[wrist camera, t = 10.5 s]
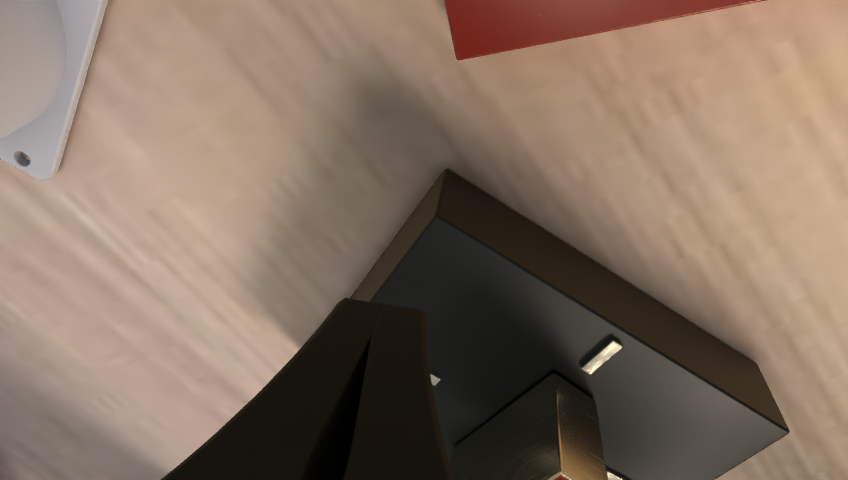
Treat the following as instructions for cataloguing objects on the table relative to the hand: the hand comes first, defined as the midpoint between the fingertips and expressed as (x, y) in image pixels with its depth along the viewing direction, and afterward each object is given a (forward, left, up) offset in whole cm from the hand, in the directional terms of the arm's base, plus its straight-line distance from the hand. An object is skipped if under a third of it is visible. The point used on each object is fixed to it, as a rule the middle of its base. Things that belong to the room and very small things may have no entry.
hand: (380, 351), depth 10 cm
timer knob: (+7, -6, -7) cm, 11 cm away
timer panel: (+7, -6, -10) cm, 13 cm away
